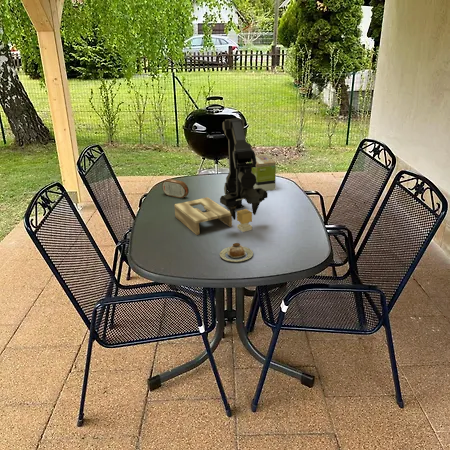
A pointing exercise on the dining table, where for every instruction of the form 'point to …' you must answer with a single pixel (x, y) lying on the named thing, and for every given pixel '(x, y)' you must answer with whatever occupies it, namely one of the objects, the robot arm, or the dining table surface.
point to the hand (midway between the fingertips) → (244, 217)
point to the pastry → (236, 252)
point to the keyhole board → (201, 213)
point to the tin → (175, 188)
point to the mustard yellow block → (244, 220)
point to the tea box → (265, 173)
